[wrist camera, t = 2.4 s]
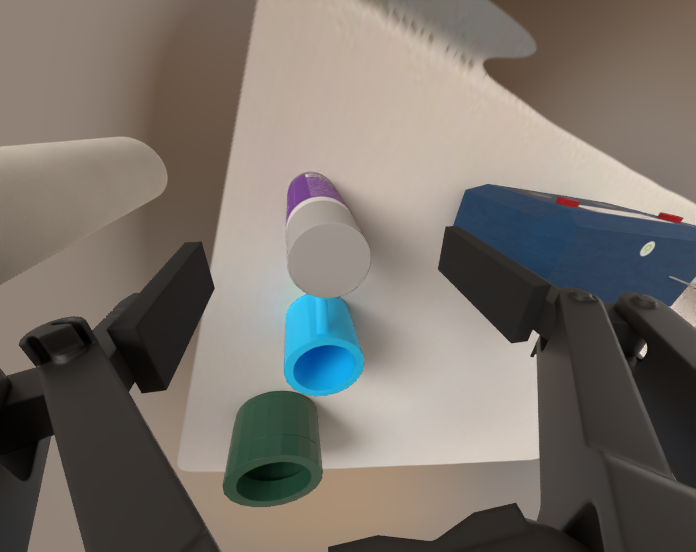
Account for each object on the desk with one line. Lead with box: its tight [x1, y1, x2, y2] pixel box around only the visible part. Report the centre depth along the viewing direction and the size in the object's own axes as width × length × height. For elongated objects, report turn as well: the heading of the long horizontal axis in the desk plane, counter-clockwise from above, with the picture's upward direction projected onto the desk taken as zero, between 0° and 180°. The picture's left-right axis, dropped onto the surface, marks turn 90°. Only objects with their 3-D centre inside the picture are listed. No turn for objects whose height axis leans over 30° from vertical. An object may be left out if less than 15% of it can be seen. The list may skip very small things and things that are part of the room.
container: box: [286, 172, 371, 298], centre depth 21 cm, size 5×5×15 cm
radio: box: [453, 184, 696, 306], centre depth 25 cm, size 21×9×20 cm, turn 80°
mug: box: [284, 294, 364, 396], centre depth 30 cm, size 12×8×8 cm
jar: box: [223, 391, 323, 507], centre depth 39 cm, size 12×12×9 cm
